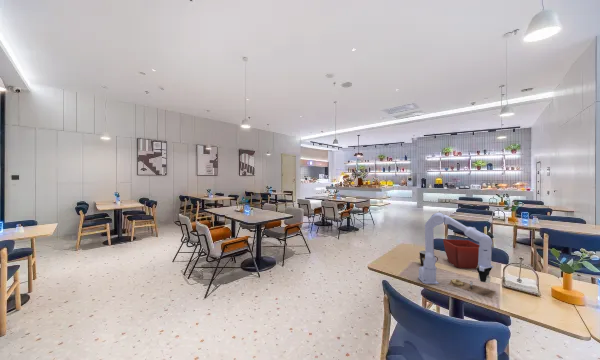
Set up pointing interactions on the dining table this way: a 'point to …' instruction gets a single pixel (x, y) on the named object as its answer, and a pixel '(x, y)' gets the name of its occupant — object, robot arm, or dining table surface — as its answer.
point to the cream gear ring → (486, 279)
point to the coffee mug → (423, 257)
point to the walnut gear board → (475, 289)
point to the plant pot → (462, 253)
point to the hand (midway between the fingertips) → (484, 280)
